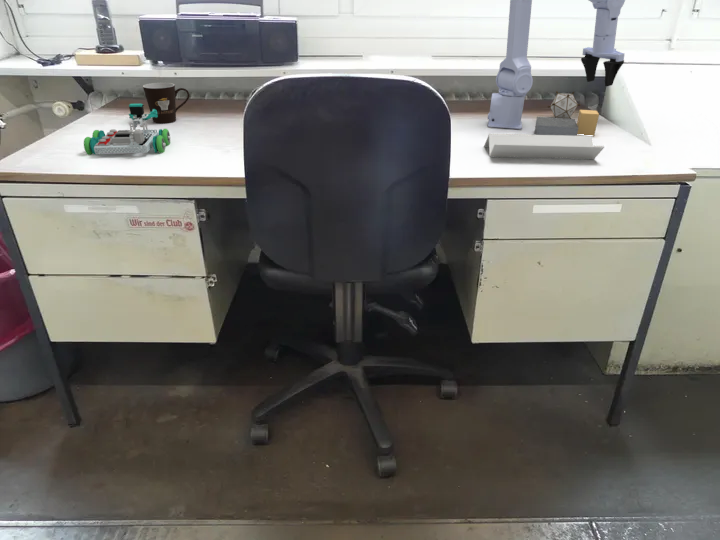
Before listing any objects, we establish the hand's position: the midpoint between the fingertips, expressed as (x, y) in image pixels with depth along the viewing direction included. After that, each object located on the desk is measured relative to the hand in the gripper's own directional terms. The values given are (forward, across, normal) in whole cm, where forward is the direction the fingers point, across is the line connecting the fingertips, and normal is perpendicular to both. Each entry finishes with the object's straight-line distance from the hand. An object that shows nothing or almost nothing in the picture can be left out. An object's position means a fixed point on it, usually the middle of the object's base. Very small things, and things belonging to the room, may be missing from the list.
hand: (599, 83), depth 159 cm
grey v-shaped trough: (+5, -26, +40) cm, 48 cm away
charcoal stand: (+7, -14, +26) cm, 30 cm away
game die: (+9, +2, +11) cm, 15 cm away
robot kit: (-8, +15, +132) cm, 133 cm away
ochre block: (+8, -14, +16) cm, 22 cm away
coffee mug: (-7, +36, +122) cm, 128 cm away
